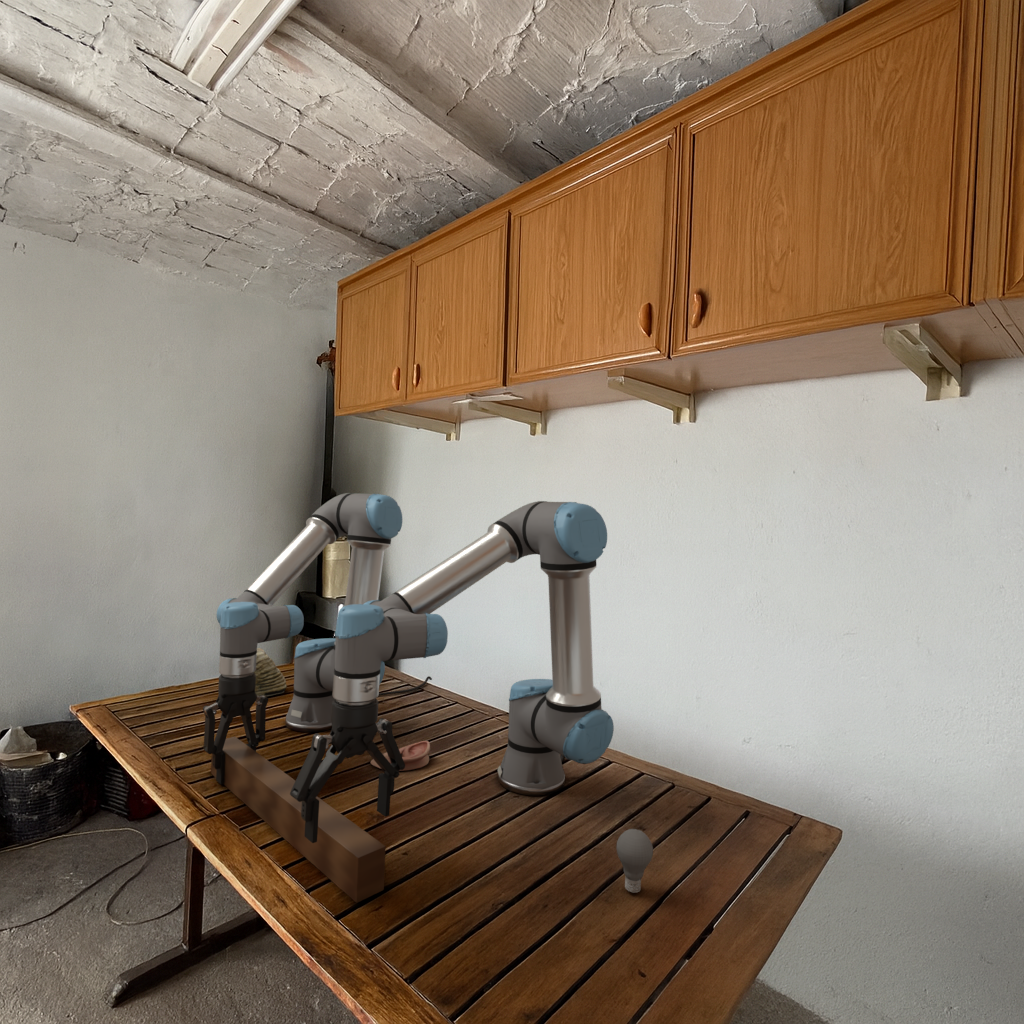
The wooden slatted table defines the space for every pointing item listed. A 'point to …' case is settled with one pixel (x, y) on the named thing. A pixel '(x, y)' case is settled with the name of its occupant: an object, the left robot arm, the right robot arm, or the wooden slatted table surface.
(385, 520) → the left robot arm
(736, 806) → the wooden slatted table surface
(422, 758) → the anatomical model
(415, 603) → the right robot arm
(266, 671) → the fossil
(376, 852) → the bar
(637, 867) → the light bulb
